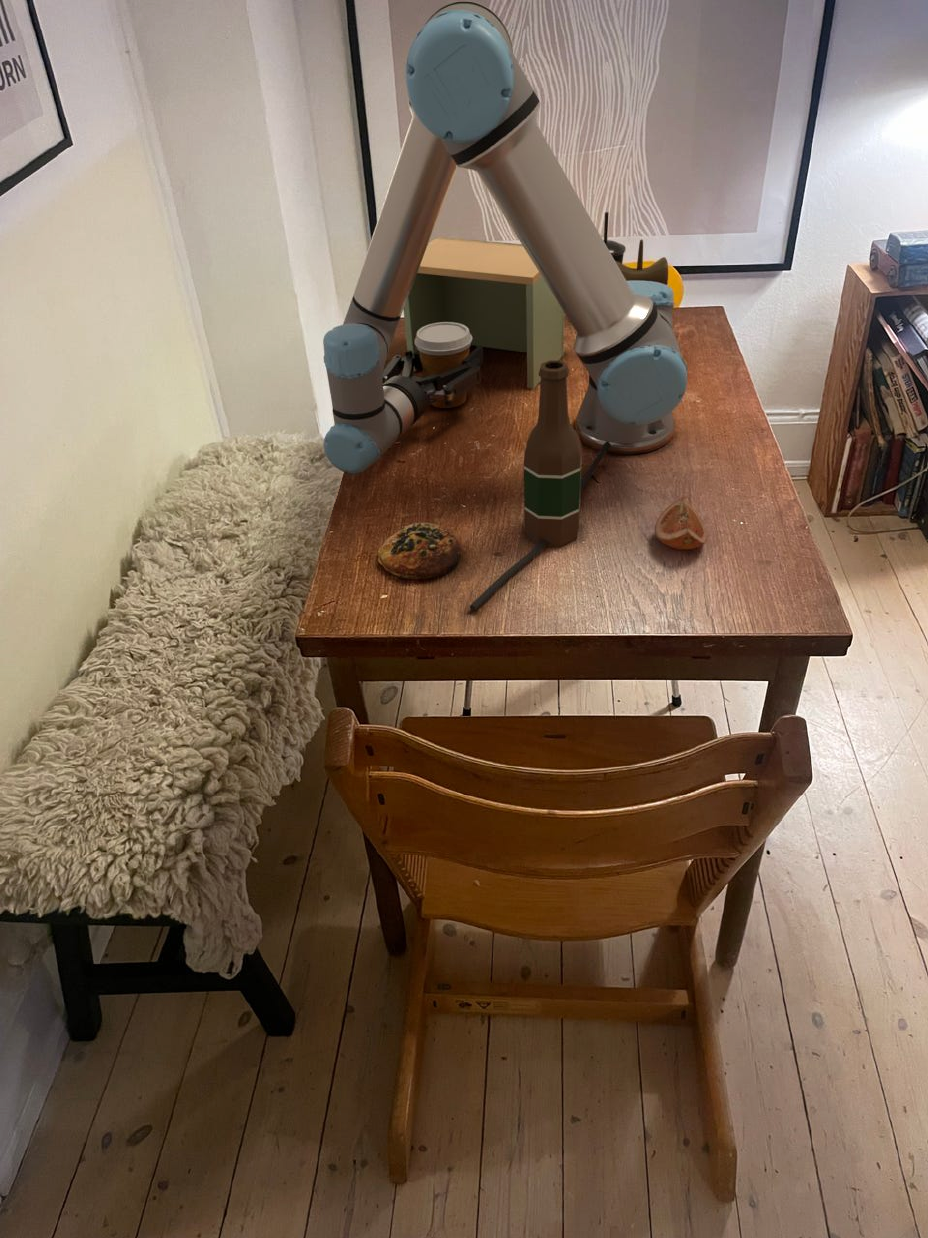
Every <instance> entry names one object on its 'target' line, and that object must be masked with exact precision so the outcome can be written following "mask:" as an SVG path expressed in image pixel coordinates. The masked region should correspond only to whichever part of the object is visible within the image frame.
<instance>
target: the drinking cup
mask: <svg viewBox="0 0 928 1238" xmlns="http://www.w3.org/2000/svg"><path fill="white" fill-rule="evenodd" d="M603 224H604V225H603V226H604V228H603V241H604V243H605V244H606V246H607V248H608V250H609V251H610V253H611V255H612V257H613V258H614V260H615V261H617V262H620V263H621V264H623V262H624V254H625V253H626V249H627V248H626V246H625V245H624V244H623V243H620V242H617V241H615V240H612V239H611V240H610V239H608V236H609V211H605V212H604V223H603Z"/></svg>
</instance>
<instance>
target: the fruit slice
mask: <svg viewBox="0 0 928 1238" xmlns="http://www.w3.org/2000/svg"><path fill="white" fill-rule="evenodd" d="M654 534H655V535H656V537H657V538H658V540H659V541H660V542H661V543H662V544H664V545H666V546H669V547H670V548H672V549H677V550H692V549H697V548H700V547H702V546H703V545H705V544H706V543H707V541H708V534H707V530H706V528H705V526H704V524H703V522H702V519H701V518H700V516H699V514H698V512H696V510H695V509H694V507H693V506H692V504H691V503H690V502H689V500H687V499H686V498H685V497H684V496H681V497H679V498H678V499H677V500H676V501H673V502H672V503H670V504H669V506H667V507H666V508H665V509H664V510H663V511H662V512H661V513H660V515H659V517H658V518H657V519H656V523H655V526H654Z"/></svg>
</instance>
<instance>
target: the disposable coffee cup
mask: <svg viewBox="0 0 928 1238" xmlns="http://www.w3.org/2000/svg"><path fill="white" fill-rule="evenodd" d="M414 342H415V345H416V347H417V349H418V351H419V355H420V360H421V365H422V368H421V369H422V373H423V378H424V377H426V376H429V375H431V374H436V375H439V374H441V373H444V372H446V371H449V370H451V369H453V368H456V367H458V366H461V365H463V364H462V361H463V360H464V359H465V358H466V357H467V356H468V355H469V354H470V349H471V348H470V347H471V346H472V345H471V342H472V335H471V334H470V332H469V329H468V328H467V327H466V326H465V325H463V324H459V323H454V322H440V323H433V324H429V325H426V326H424V327H422V328H420V329H419V330H418V331H417V336H416V338H415V341H414ZM432 382H433V381H432ZM466 401H467V391H466V392H465V393H464V394H462V395H461V396H459V397H458V398H456V399H455V400H454V402H453V404H451V405H446V404H445V401H444V400H438V399H436V401H435V402H433V403H430V404H429V405H431V406H433V407H436V408H438V409H439V408H441V409H451V408H455V407H456V408H457V407H459V406H461V405H463V404H464V403H465V402H466Z"/></svg>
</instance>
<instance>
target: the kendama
mask: <svg viewBox="0 0 928 1238" xmlns="http://www.w3.org/2000/svg"><path fill="white" fill-rule="evenodd" d="M615 262H616V264H617V265H618V267H619V269H620V271H621V272H622V274H623V276H624V278H625V279H626V281H652V282H658V283H662V284H665V285H667V286H668V283H669V264H668V263H669V262H668V260H667V258H666V257H665V256H663V257H661V258H659V259H658V260H656V261H655V262H654V263H652V264H651V265H649V266H647V267H644V265H643V264H644V239H640V240H639V243H638V253H637V262H636V267H630V266H627V265H625V264H624V263H622V264H621V263H620V262H617V261H615Z"/></svg>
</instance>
